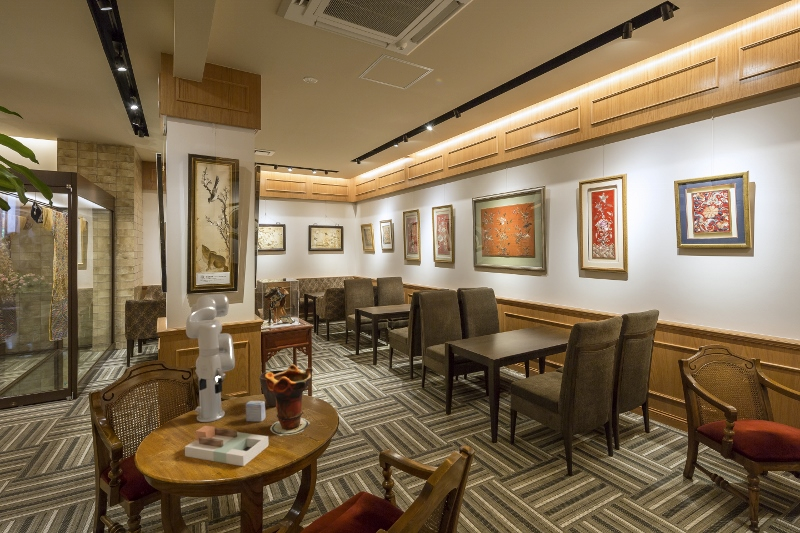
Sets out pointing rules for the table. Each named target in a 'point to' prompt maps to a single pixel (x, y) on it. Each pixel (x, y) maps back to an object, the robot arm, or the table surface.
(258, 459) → the table surface
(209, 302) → the robot arm
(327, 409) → the table surface
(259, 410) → the medicine box
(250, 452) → the deck
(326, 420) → the table surface
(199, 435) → the block
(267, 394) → the plant pot
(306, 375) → the decorative vase
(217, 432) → the channel walls
